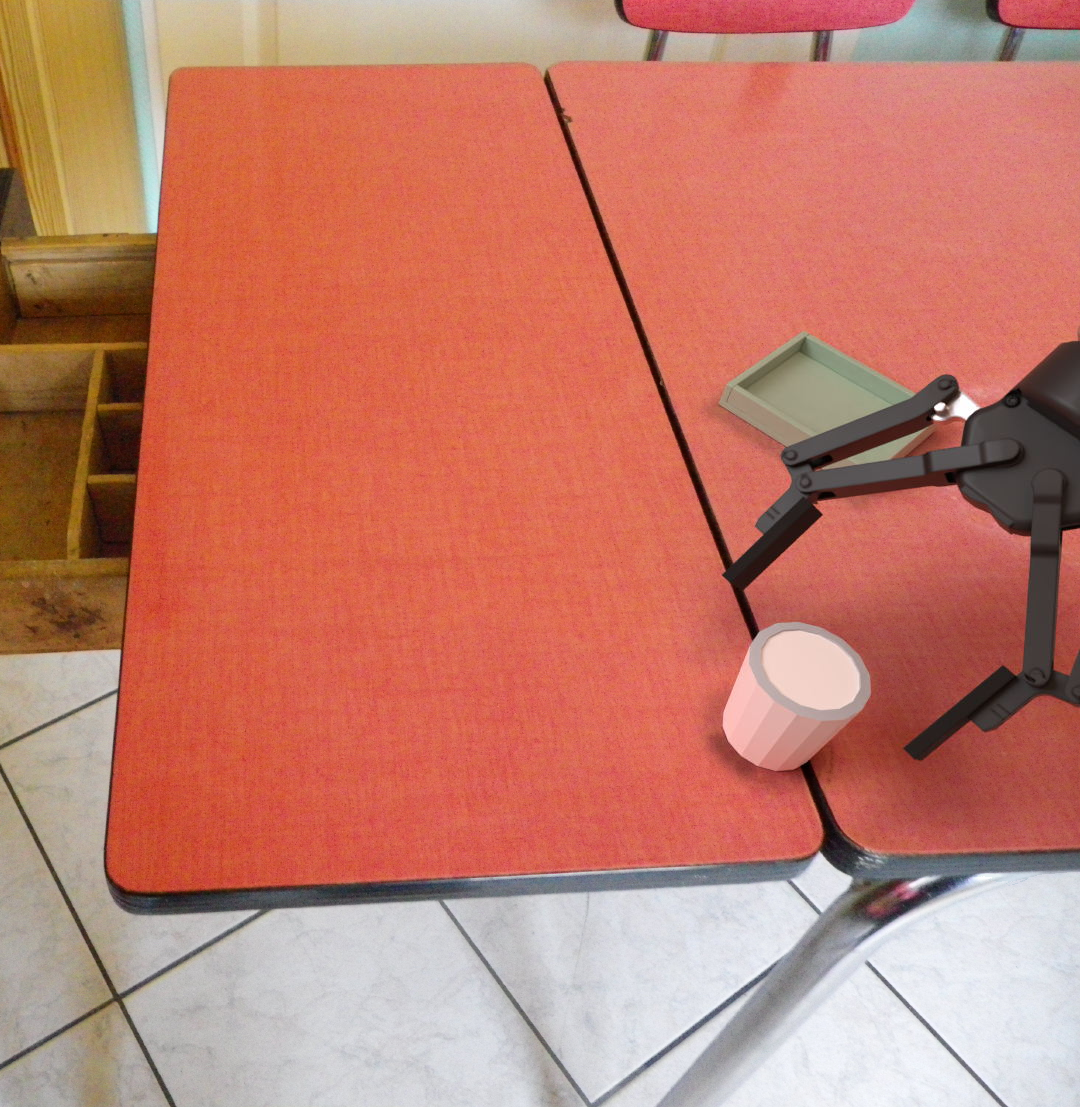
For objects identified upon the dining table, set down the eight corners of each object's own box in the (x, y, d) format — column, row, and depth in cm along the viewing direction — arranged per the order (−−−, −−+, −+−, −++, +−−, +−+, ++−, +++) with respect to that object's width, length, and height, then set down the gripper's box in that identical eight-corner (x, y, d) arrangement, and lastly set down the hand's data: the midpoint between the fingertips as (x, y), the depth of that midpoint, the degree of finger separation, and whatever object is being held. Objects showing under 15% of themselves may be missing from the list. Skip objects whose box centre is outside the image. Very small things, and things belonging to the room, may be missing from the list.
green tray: (934, 431, 82) (947, 410, 81) (861, 494, 77) (873, 473, 76) (794, 350, 89) (803, 330, 87) (717, 404, 84) (726, 383, 82)
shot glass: (754, 666, 67) (793, 601, 61) (846, 738, 63) (896, 676, 58) (689, 723, 64) (725, 660, 58) (782, 801, 60) (828, 742, 55)
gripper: (1373, 556, 48) (1008, 839, 55) (941, 284, 62) (688, 535, 68) (1411, 522, 43) (996, 843, 49) (924, 229, 56) (648, 509, 62)
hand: (815, 664), depth 59 cm, fingers open, 13 cm apart
